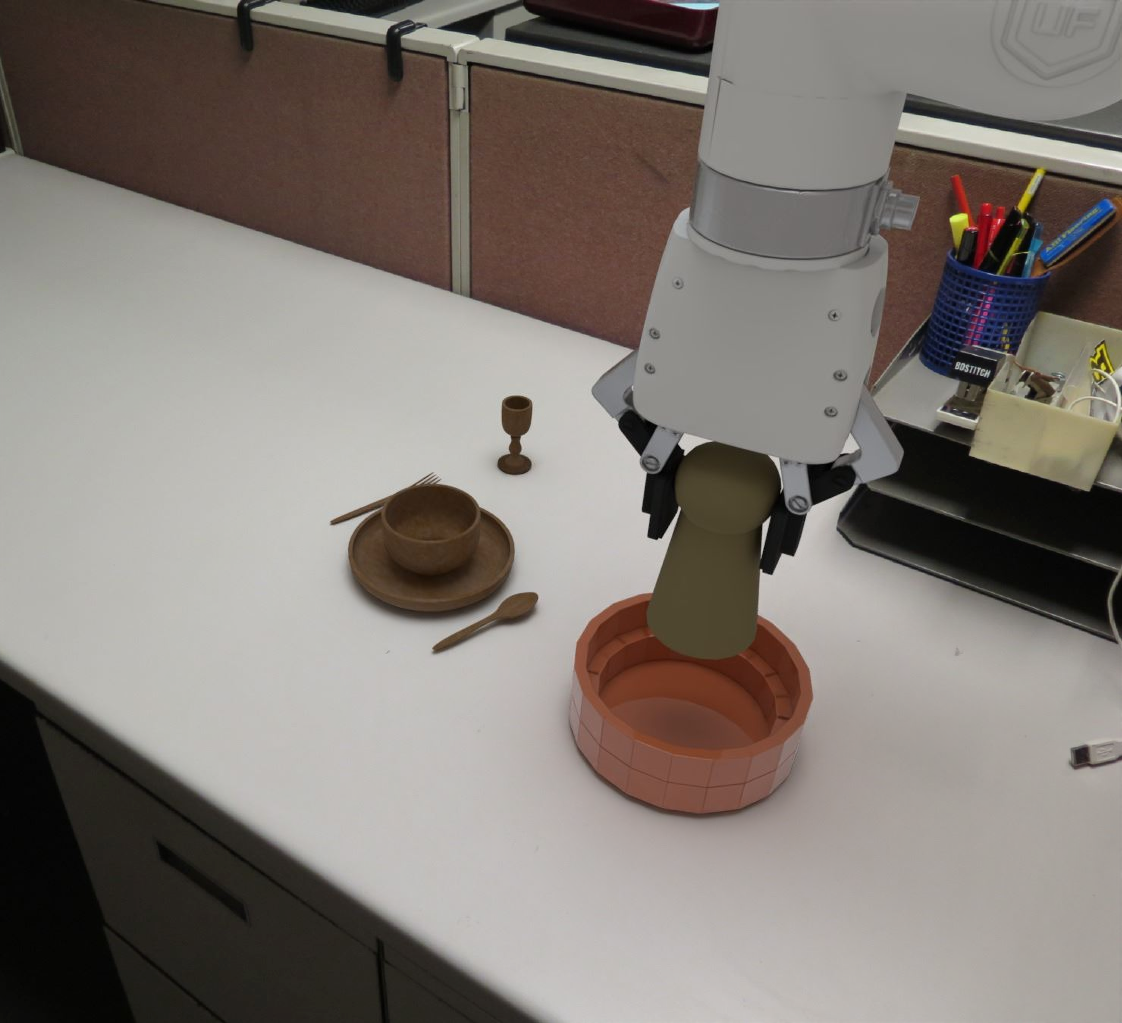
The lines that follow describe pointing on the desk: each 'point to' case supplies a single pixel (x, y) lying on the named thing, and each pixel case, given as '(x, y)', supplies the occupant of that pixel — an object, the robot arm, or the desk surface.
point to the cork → (714, 552)
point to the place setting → (442, 542)
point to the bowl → (687, 713)
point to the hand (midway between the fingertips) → (716, 538)
